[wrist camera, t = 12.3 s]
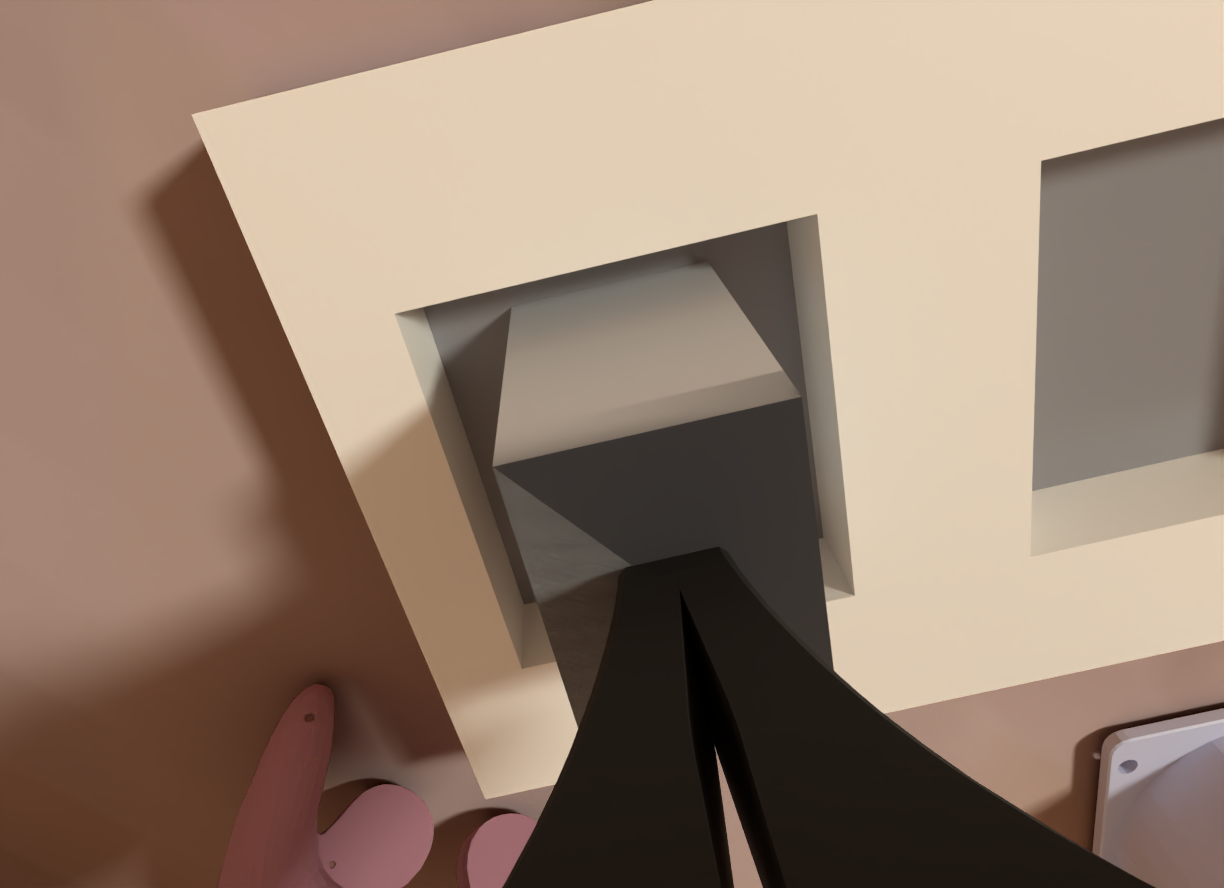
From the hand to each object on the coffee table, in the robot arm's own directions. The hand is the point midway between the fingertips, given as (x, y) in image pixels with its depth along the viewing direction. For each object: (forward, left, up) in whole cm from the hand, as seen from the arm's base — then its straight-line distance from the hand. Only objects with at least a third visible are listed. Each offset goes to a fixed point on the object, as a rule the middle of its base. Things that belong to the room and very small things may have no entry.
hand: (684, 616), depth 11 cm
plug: (0, 0, -6) cm, 6 cm away
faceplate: (0, -5, -6) cm, 8 cm away
